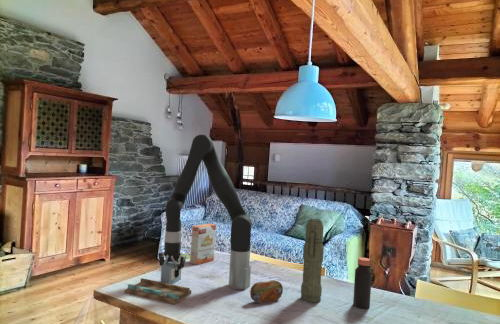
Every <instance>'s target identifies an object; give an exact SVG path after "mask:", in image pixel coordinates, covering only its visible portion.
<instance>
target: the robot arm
mask: <svg viewBox="0 0 500 324" xmlns="http://www.w3.org/2000/svg"><path fill="white" fill-rule="evenodd" d="M191 142H192V143H191V146H190V148H189V152H188V153H189V154H188V155H187V159H186V162H185V165H184V166H183V169H182V171H181V173H180V175H179V177H178V178H177V182H176V184H175V186H174V191H173V194H172V196H171V197H170V199H168V200H167V202H166V204H165V219H166V223H165V234H164V248H163V251H161V252H159V253H158V260H159V266H160V267H161V265H164V264H166V263H168V262H172V263H173V265H174V266H175V269H176V270H175V278H177V277H178V276H179V273H180V269H181V270H183V268H184V267H185V262H186V259H187V258H186V257H187V256H186V255H182V254H181V250H182V249H181V248H182V247H181V246H182V219H181V211H182V209H183V208H184V206H185V202H186V200H187V198H188V195H189V193H190V191H191V189H192V186H193V185H194V182H195V179H196V176H197V172H198V170H199V166H200V165H201V163H202V162H203V164H204V166H205V169H206V171H207V176H208V179H209V182H210V184H211V187H212V188H213V191H214V194H215V195H216V197H217V198H218V199H219V201H220V202H221V204H222V205H223V206H224V207H225V209H226V210H227V211H226V212H228V215H229V217H230V219H231V224H230V225H231V226H230V243H229V244H230V252H229V253H230V256H229V270H228V271H229V275H228V287H229V288H230V289H233V290H247V289H248V288H249V287H250V285H251V271H252V270H251V269H252V266H251V265H250V264H251V261H250V258H251V235H252V226H253V225H252V224H253V223H252V220H251V218H250V217H249V215H248V213H247V212H246V210H245V208H244V207H243V205H242V203H241V201H240V198H239V195H238V193H237V191H236V188H235V185H234V183H233V181H232V179H231V177H230V175H229V174H228V172H227V170H226V168H225V166H224V165H223V164H222V162H221V160H220V158H219V155H218V153H217V151H216V149H215V145H214V142H213V140H212V139H211V137H210V136H208V135H206V134H198V135H196V136H195V137H193V139H192V141H191ZM179 261H180V262H179ZM179 263H180V264H179Z"/></svg>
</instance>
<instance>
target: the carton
mask: <svg viewBox="0 0 500 324" xmlns="http://www.w3.org/2000/svg"><path fill="white" fill-rule="evenodd" d="M179 262H180V260H179ZM179 264H180V263H179ZM160 267H161V268H160V271H161V272H160V282H162V283H167V284H172V285H175V284H176V283H178V282H180V281H181V279H182V269H180V273H179V276H178V277H177V278H175V270H176V269H175V266H174V265H173V263H172V262H168V263H166V264H164V265H161V266H160ZM179 280H180V281H179Z"/></svg>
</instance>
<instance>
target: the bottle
mask: <svg viewBox="0 0 500 324" xmlns="http://www.w3.org/2000/svg"><path fill="white" fill-rule="evenodd" d="M370 265H371V259H370V258H368V257H358V258H357V267H355V269H354V281H353V282H354V285H353V299H352V302H353V306H354V307H356V308H359V309H368V308H370V307H371V306H370V305H371V291H372V275H373V274H372V273H373V271H372V270H371V269H370Z"/></svg>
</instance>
